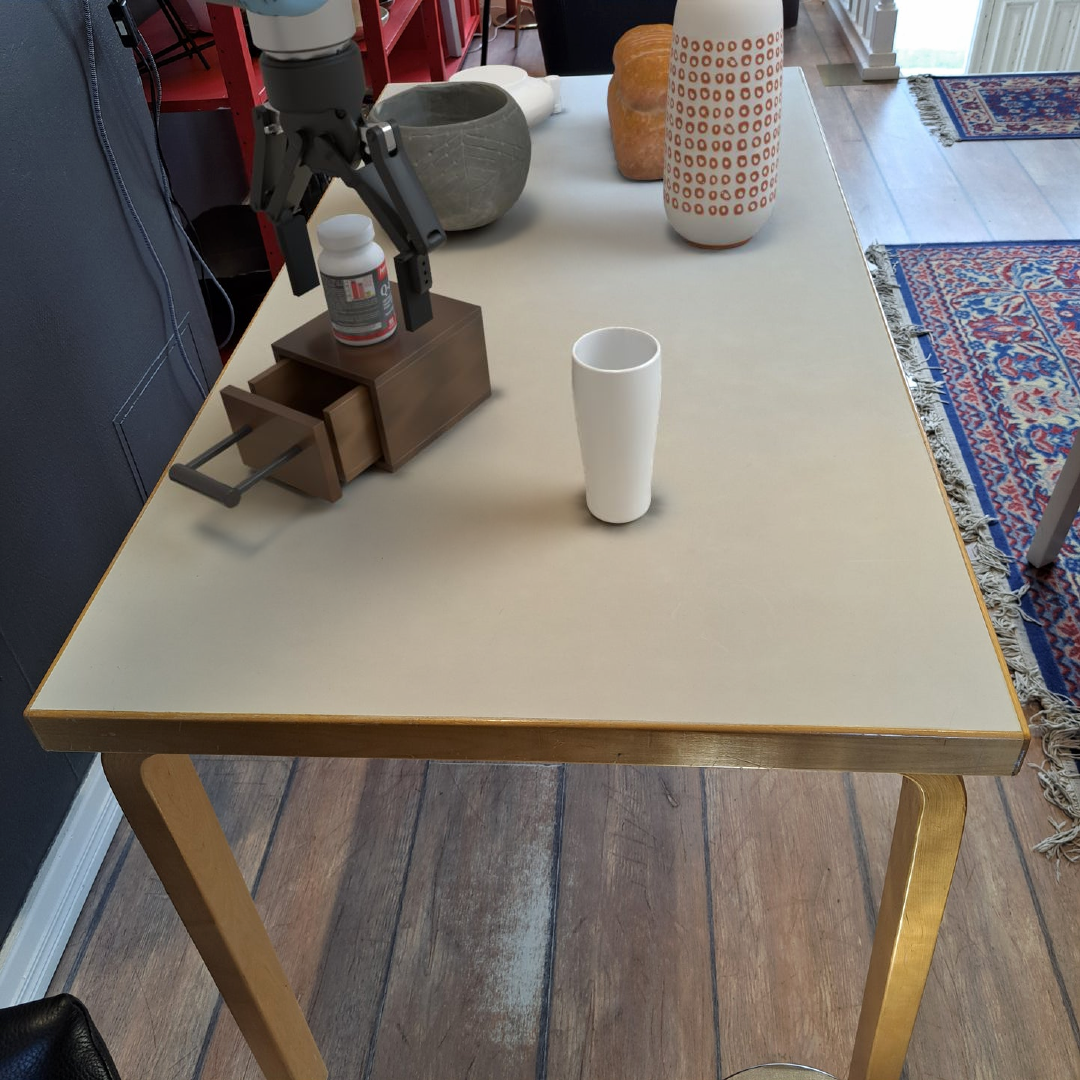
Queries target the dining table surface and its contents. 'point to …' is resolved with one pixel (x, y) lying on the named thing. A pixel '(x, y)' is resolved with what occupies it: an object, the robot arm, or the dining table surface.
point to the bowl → (463, 147)
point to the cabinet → (406, 371)
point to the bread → (640, 100)
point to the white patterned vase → (723, 119)
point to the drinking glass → (617, 418)
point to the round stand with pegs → (519, 89)
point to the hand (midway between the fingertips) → (361, 307)
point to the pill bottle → (355, 280)
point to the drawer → (292, 433)
